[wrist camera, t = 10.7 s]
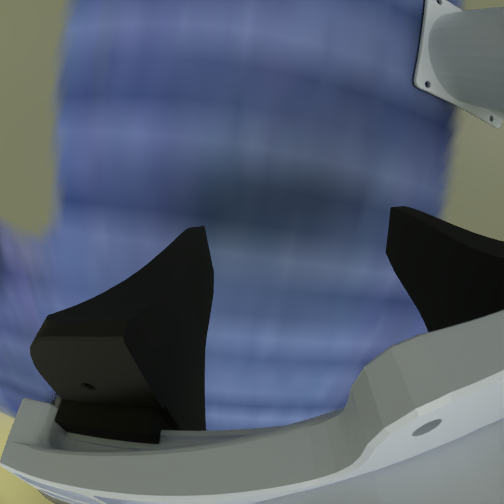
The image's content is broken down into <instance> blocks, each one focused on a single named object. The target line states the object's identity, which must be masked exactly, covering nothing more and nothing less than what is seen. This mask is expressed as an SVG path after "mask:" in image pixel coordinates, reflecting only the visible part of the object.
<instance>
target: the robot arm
mask: <svg viewBox="0 0 504 504" xmlns="http://www.w3.org/2000/svg"><path fill="white" fill-rule="evenodd" d="M438 1H439V4H438V3H437V0H425V8H424V17H423V25H422V33H421V40H420V47H419V53H418V59H417V65H416V70H415V75H414V84H415V86H416V87H417V88H419V89H421V90H424V91H426V92H428V93H430V94H433V95H435V96H437V97H439V98H441V99H443V100H445V101H447V102H449V103H451V104H453V105H455V106H457V107H459V108H461V109H463V110H465V111H467V112H469V113H471V114H473V115H474V116H476V117H478V118H480V119H481V120H483V121H485V122H486V123H488V124H490V125H492V126H493V127H495V128H498V129H499V128H500V127H501V125H502V121H503V119H504V7H496V8H485V9H475V10H468V11H463V10H461V9H459V8H458V7H456V6H455V5H453V4H451V3H450V2H448V1H446V0H438ZM425 82H427V83H428V86H427V87H426V86H425ZM490 117H491V118H490ZM386 254H387V256H388V259H389V261H390V263H391V265H392V267H393V270H394V272H395V273H396V275H397V277H398V278H399V280H400V281H401V283H402V285H403V286H404V288H405V289H406V291H407V292H408V294H409V296H410V297H411V299H412V301H413V302H414V304H415V305H416V307H417V309H418V310H419V312H420V314H421V316H422V318H423V320H424V322H425V325H426V327H427V330H428V332H427V333H423V334H419V335H416V336H414V337H411V338H409V339H407V340H404V341H402V342H399V343H397V344H394V345H392V346H390V347H388V348H387V349H386V350H384V351H383V352H382V353H381V354H379V355H378V356H377V357H375V358H374V359H373V360H371V361H370V362H368V363H367V364H366V366H365V367H364V368H363V370H362V371H361V373H360V375H359V376H358V378H357V379H356V381H355V382H354V384H353V385H352V387H351V390H350V394H349V398H348V402H347V405H346V406H345V407H344V408H341V409H338V410H335V411H332V412H329V413H326V414H323V415H320V416H317V417H314V418H310V419H307V420H304V421H300V422H297V423H293V424H290V425H285V426H277V427H266V428H255V429H240V430H217V431H206V422H205V346H206V337H207V331H208V325H209V318H210V312H211V306H212V299H213V288H214V271H213V266H212V261H211V256H210V251H209V246H208V241H207V236H206V231H205V226H200V227H192V228H188V229H186V230H185V231H184V232H183V233H182V234H180V235H179V236H178V237H177V238H176V239H175V240H174V241H173V242H172V243H171V244H170V245H169V246H168V247H167V248H165V249H164V250H163V251H162V252H161V253H160V254H159V255H157V256H156V257H155V258H154V259H153V260H152V261H150V262H149V263H148V264H147V265H146V266H144V267H143V268H142V269H140V270H139V271H138V272H136V273H135V274H133V275H132V276H130V277H129V278H128V279H126V280H124V281H123V282H121V283H119V284H118V285H116V286H114V287H112V288H111V289H109V290H107V291H106V292H104V293H102V294H100V295H98V296H96V297H94V298H92V299H89V300H87V301H85V302H83V303H80V304H78V305H76V306H73V307H70V308H67V309H65V310H62V311H59V312H56V313H54V314H50V315H48V316H47V317H46V319H45V321H44V323H43V324H42V326H41V328H40V330H39V332H38V333H37V335H36V337H35V339H34V341H33V343H32V344H31V346H30V355H31V357H32V360H33V363H34V365H35V367H36V368H37V370H38V371H39V373H40V374H41V375H42V376H43V378H44V379H45V380H46V381H47V383H48V384H49V385H50V386H51V387H52V388H53V390H54V391H55V392H56V393H57V394H58V395H59V397H60V398H61V399H62V400H61V403H60V406H59V408H57V407H56V406H54V405H52V404H50V403H47V402H42V401H37V400H32V399H27V398H24V399H23V400H22V403H21V405H20V408H19V410H18V412H17V415H16V417H15V420H14V423H13V425H12V428H11V431H10V433H9V436H8V439H7V442H6V445H5V448H4V450H3V454H2V457H1V460H0V465H1V466H2V467H4V468H5V469H6V470H8V471H9V472H11V473H12V474H14V475H16V476H17V477H19V478H20V479H22V480H23V481H25V482H26V483H28V484H30V485H32V486H33V487H35V488H37V489H38V490H40V491H42V492H44V493H46V494H47V495H49V496H51V497H54V498H57V499H59V500H62V501H65V502H68V503H71V504H504V242H503V241H499V240H495V239H492V238H488V237H485V236H482V235H479V234H476V233H473V232H470V231H468V230H465V229H462V228H460V227H457V226H455V225H452V224H450V223H448V222H446V221H443V220H441V219H438V218H436V217H434V216H431V215H429V214H426V213H424V212H421V211H419V210H416V209H413V208H409V207H405V206H401V207H391V210H390V220H389V229H388V238H387V246H386Z"/></svg>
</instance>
